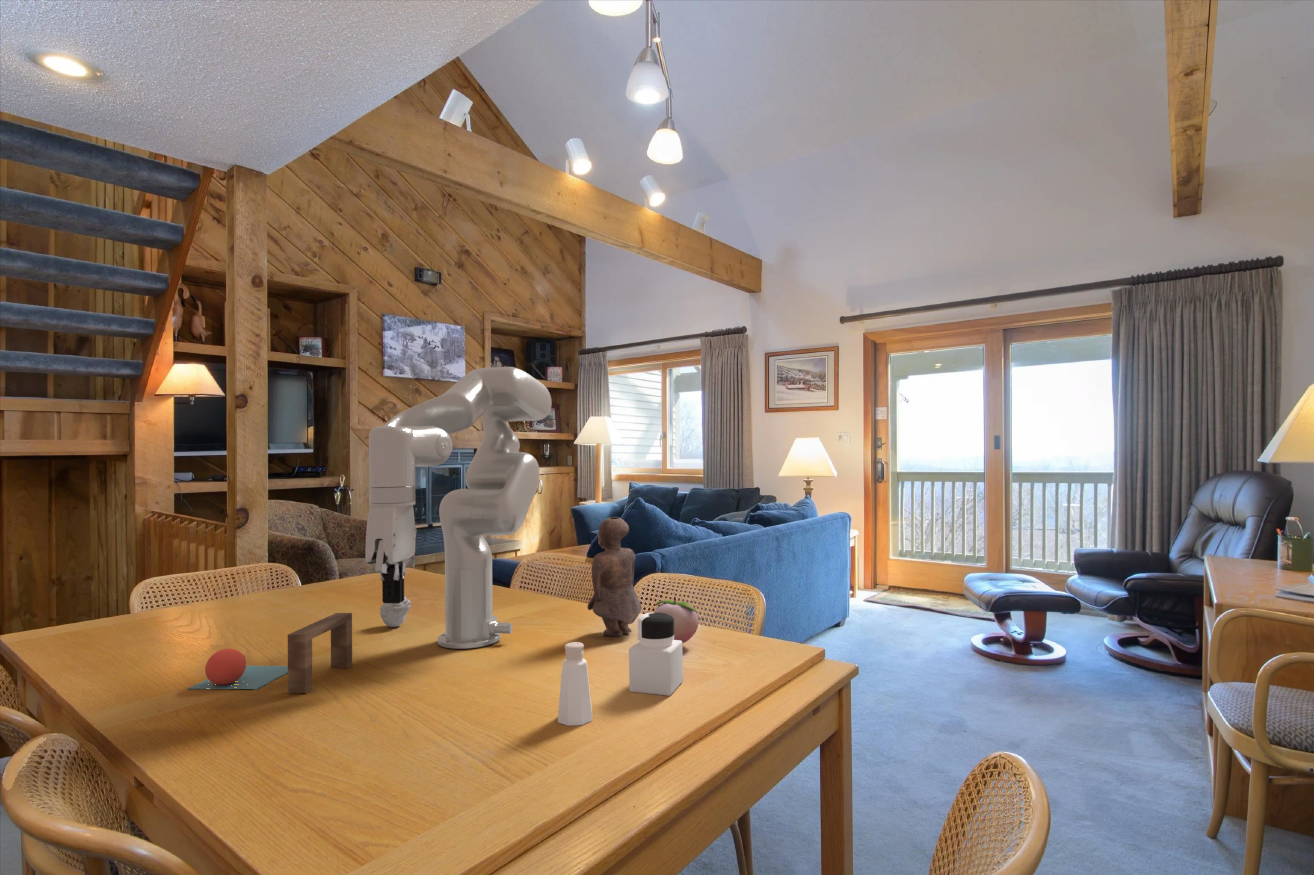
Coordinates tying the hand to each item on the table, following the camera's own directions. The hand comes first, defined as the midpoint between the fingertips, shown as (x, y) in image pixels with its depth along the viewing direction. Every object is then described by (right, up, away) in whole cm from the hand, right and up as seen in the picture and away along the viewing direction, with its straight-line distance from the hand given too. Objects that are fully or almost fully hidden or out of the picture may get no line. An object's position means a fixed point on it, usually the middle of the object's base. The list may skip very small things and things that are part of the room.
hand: (393, 601), depth 120 cm
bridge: (-13, -14, +1) cm, 19 cm away
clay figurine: (+37, -14, +27) cm, 48 cm away
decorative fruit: (+50, -13, +17) cm, 54 cm away
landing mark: (-27, -14, +2) cm, 30 cm away
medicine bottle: (+46, -13, -6) cm, 48 cm away
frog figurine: (-13, -14, +36) cm, 41 cm away
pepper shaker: (+34, -13, -19) cm, 41 cm away
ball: (-28, -11, -2) cm, 30 cm away
